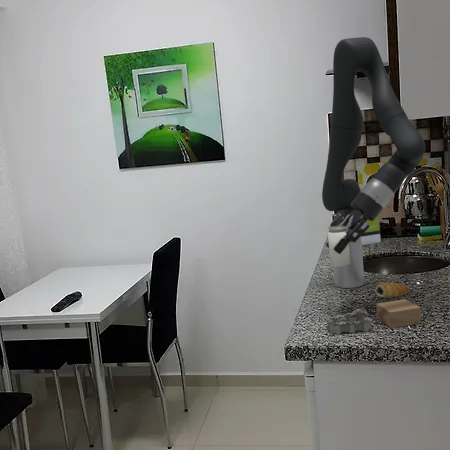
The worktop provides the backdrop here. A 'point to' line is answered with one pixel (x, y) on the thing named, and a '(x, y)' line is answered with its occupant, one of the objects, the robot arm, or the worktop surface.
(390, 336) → the worktop surface
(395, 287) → the pastry
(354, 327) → the egg carton
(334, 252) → the spice jar
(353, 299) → the worktop surface
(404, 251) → the worktop surface
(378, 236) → the tea box
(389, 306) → the walnut block
